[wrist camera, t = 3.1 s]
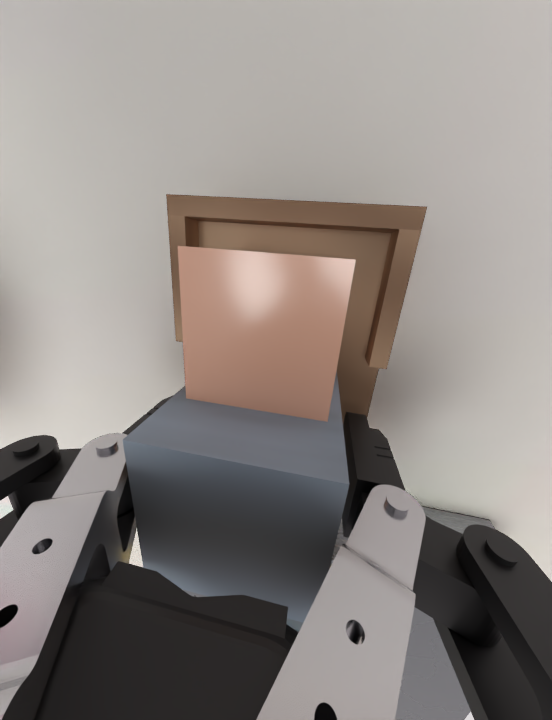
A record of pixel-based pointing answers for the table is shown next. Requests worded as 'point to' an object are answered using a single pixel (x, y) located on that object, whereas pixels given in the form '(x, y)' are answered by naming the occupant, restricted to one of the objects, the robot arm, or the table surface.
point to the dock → (424, 650)
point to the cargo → (263, 328)
